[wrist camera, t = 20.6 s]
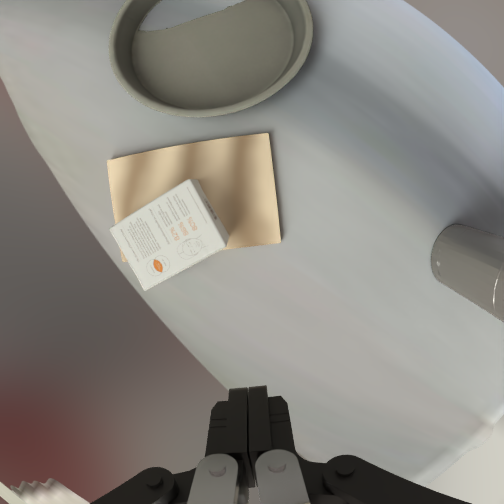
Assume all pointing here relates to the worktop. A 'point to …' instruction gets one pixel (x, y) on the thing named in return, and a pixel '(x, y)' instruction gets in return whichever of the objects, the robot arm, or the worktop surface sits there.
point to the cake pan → (211, 56)
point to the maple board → (206, 184)
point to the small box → (170, 234)
